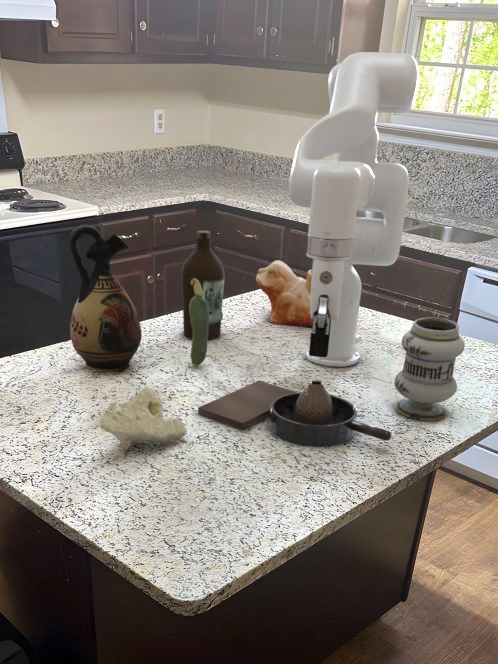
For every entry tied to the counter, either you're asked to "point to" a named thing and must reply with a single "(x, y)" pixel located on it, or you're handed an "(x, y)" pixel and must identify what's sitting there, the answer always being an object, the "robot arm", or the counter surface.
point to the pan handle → (370, 430)
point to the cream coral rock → (141, 420)
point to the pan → (311, 435)
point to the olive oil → (203, 284)
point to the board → (244, 405)
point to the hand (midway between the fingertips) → (319, 347)
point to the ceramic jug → (103, 307)
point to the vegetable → (199, 324)
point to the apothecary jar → (428, 367)
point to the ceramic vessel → (286, 294)
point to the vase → (314, 405)
